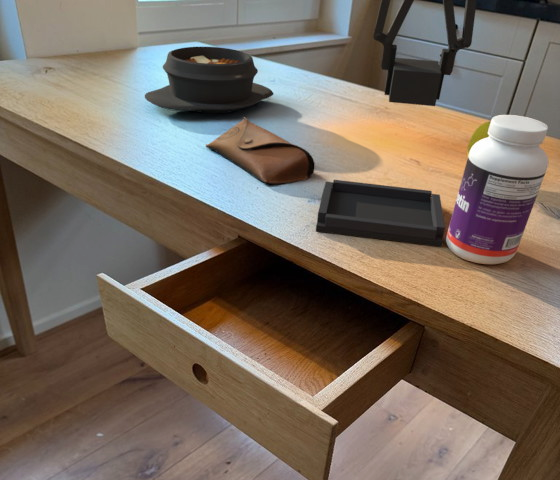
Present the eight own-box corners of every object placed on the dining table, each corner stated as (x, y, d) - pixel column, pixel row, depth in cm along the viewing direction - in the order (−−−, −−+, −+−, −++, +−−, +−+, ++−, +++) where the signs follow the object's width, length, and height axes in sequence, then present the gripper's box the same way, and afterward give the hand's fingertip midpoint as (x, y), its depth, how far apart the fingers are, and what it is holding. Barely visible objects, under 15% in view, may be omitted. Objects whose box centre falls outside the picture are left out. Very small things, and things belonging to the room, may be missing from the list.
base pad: (435, 206, 75) (439, 191, 74) (441, 247, 66) (446, 231, 65) (324, 193, 77) (326, 178, 75) (315, 231, 67) (317, 215, 66)
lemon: (497, 184, 83) (515, 127, 78) (459, 177, 84) (474, 121, 79) (499, 172, 87) (516, 117, 82) (463, 165, 88) (477, 111, 83)
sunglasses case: (200, 144, 87) (219, 101, 85) (233, 161, 92) (251, 122, 90) (266, 184, 76) (290, 137, 74) (299, 201, 82) (322, 158, 79)
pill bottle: (446, 231, 70) (479, 106, 60) (513, 243, 68) (557, 117, 59) (441, 260, 64) (477, 127, 54) (514, 274, 62) (564, 140, 53)
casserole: (182, 129, 93) (179, 73, 88) (126, 101, 104) (120, 50, 98) (294, 109, 107) (297, 59, 101) (234, 86, 117) (235, 39, 112)
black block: (431, 91, 92) (438, 61, 89) (435, 106, 85) (442, 73, 83) (389, 88, 93) (393, 57, 90) (388, 102, 86) (394, 69, 83)
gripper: (369, -99, 72) (347, 95, 87) (528, -89, 71) (478, 107, 85) (370, -98, 78) (349, 84, 93) (517, -89, 76) (472, 94, 91)
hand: (411, 94), depth 89 cm, fingers closed on black block, 7 cm apart
